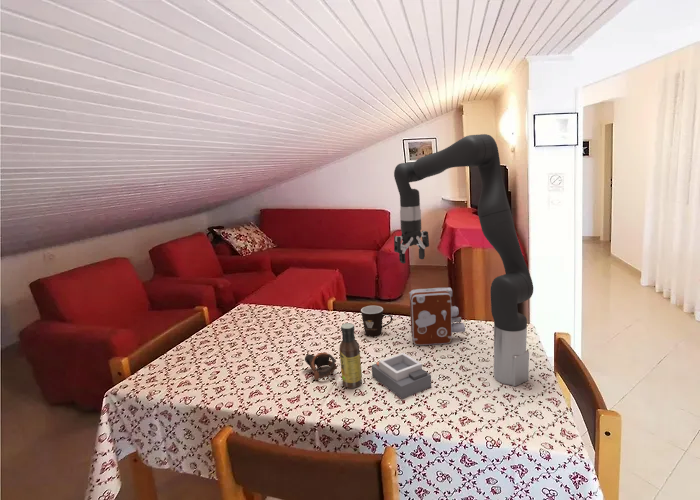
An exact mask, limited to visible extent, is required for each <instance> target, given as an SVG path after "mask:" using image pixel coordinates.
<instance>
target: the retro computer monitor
mask: <svg viewBox="0 0 700 500" xmlns="http://www.w3.org/2000/svg"><path fill="white" fill-rule="evenodd" d="M371 377H372V378H374V379H375V380H376V381H378V382H379V383H380V384H381V385H383V386H384V387H386V388H387V389H388V390H389V391H391V392H392V393H393V394H395V395H396V396H398V397H399V398H400V399H402V400H403V399H406V398H408V397H410V396H412V395H415V394H418V393H420V392H422V391H425V390H427V389H430V388H431V387H432V375H431V374H430V373H429V372H427V371H426V370H424V369H423V364H422V363H421V362H419V361H418V360H416V359H415V358H413V357H411V356H410V355H408V354H406V353H405V352H401V353H398V354H395V355H393V356H390V357H387V358H384V359H380V360H378V361H377V362H376V363H374V364H371Z"/></svg>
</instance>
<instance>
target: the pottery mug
mask: <svg viewBox="0 0 700 500" xmlns="http://www.w3.org/2000/svg"><path fill="white" fill-rule="evenodd" d="M304 361H305V363H306V364H307V365H308V366H309V367H310V369H311V371H312V372H313V373H314V374H313V379H314V380H316V381H318V380H321V379H324V378H327V377H329V376H331V374H333V373H334V372H335V370H337V369H338V367H337V364H336V362H337V360H336V358H335V357H334V356H333V355H331V354H330V353H327V352H320V353H317V354H316V355H313V354H306V355H305V357H304ZM327 366H328V368H325V369H320V368H322V367H327ZM317 369H318V370H317Z"/></svg>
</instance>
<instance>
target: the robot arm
mask: <svg viewBox="0 0 700 500" xmlns="http://www.w3.org/2000/svg"><path fill="white" fill-rule="evenodd" d="M499 153H500V152H499V148H498V145H497V142H496V140H495V139H494V137H493V136H491V135H490V134H485V133H484V134H483V133H482V134H470V135H466V136H464V137H462V138H461V139H459V140H457V141H455V142H454V143H452V144H451V145H448V146H447V147H445V148H444V149H441V150H439V151H435V152H433V153H429V154H426V155H423V156H421V157H419V158H418V159H417V160H415V161H409V162H401V163H398V164H397V165H396V166H395V167H394V171H393V177H394V181H395V183H396V187H397V191H398V193H399V206H400V209H399V214H400V215H399V219H400V231H401V235H399V236H398V235H394V237H393V246H394V247H393V248H394V249H393V252H394V253H397V254H398V258H399V262H400V263H401V264H406V251H407V249H409V247H413V246H417V247H418V258H419V259H420V260H424V259H425V257H426V256H425V255H426V254H425V252H426V251H425V249H426V248H429V246H430V239H429V232H428V231H427V230H422V210H421V203H420V199H421V198H420V191H419V190H418V189H416V188H412V187H411V184H410V183H413V182H415V183H416V182H418V181H419V182H420V181H422V180H424V179H427V178H430V177H433V176H436V175H439V174H441V173H443V172H445V171H446V170H448V169H451V168H460V167H461V168H463V167H464V168H465V167H470V168H471V167H472V168H473V167H474V168H475V167H477V168H478V171H479V175H480V178H481V179H480V180H481V181H480V182H481V190H480V196H479V199H478V205H477V215H478V220H479V224H480V228H481V232H482V233H483V236H484V237H485V238H486V239H485V240H487V241H488V243H489V244H490V245H491V246H492V247H493V249H494V250H495V251H496V252H497V253H498V255H499V257H500V259H501V261H502V264H503V268H504V272H505V273H504V274H501V275H499V276H496V277H495V278H494V279H493V280H492V281H491V286H490V311H491V315H492V319H493V377H494V380H496V381H497V382H498V383H502V384H504V385H510V386H512V387H517V386H519V385H521V384H523V383H525V382H527V381H529V373H530V372H529V371H530V370H529V368H530V351H528V350H527V335H528V333H527V332H528V330H527V329H528V328H527V327H528V319H527V316H526V315H524V314H523V313H520V312H519V311H518V304H521V303H523V302H526V301H529V300H530V299H531V298H532V296H533V294H534V284H533V283H534V282H533V279H532V276H531V274H530V271H529V269H528V266H527V262H526V260H525V257H524V254H523V252H522V248H521V245H520V241H519V238H518V236H517V235H518V234H517V232H516V231H517V230H516V228H515V227H516V226H515V222H514V218H513V214H512V210H511V206H510V203H509V199H508V197H507V192H506V187H505V184H504V180H503V174H502V173H503V172H502V168H501V167H502V166H501V159H500V154H499Z"/></svg>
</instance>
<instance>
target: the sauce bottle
mask: <svg viewBox="0 0 700 500" xmlns="http://www.w3.org/2000/svg"><path fill="white" fill-rule="evenodd" d="M340 329H341V330H340V331H341V336H342V337H341V339H342V340H341V342H340V344H339V349H338V350H339V361H340V369H341V370H340V371H341V372H340V373H341V380H342V384H343V386H344V387H346V388H348V389H349V388H350V389H355V388H358V387H360V386H361V385H362V382H363V379H362V378H363V376H362V374H363V373H362V363H361V361H362V360H361V352H360V351H361V350H360V345H359V342H358V341H357V340H356V337H355V325H354V323H351V322H345V323H343V324H341V326H340Z"/></svg>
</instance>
